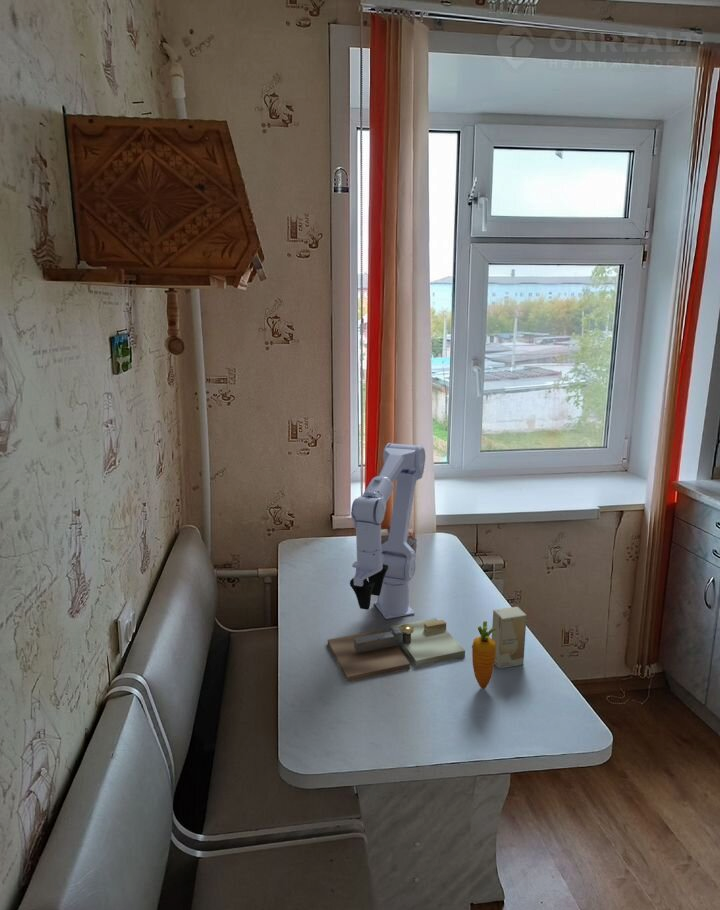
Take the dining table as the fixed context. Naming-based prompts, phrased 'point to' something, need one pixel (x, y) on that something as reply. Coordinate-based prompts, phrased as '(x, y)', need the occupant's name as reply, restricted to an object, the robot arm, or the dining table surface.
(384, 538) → the food item
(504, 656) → the skincare box
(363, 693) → the dining table surface
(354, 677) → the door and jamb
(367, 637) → the swing bar
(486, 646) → the carrot
